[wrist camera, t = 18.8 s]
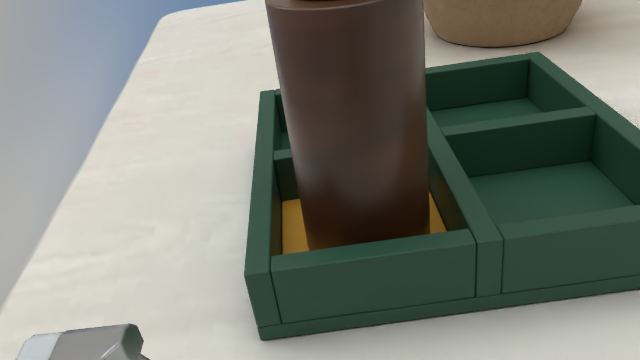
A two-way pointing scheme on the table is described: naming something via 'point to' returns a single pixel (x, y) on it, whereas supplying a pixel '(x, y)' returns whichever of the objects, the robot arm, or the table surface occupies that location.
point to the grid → (462, 208)
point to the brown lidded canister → (355, 116)
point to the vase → (499, 20)
